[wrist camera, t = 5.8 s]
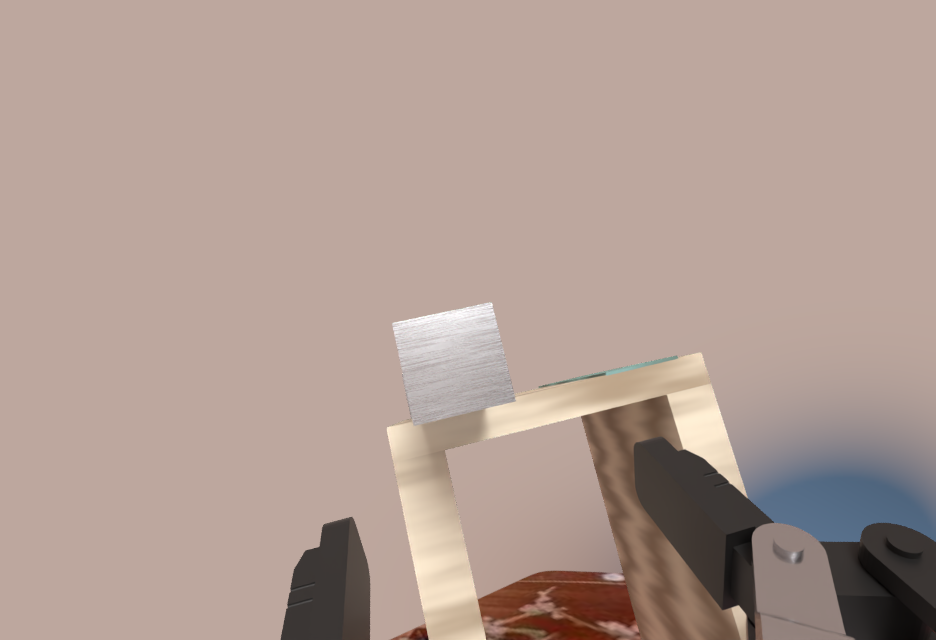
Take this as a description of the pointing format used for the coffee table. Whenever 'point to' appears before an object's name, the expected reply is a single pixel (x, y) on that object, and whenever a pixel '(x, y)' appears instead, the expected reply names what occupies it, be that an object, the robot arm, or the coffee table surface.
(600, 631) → the coffee table surface
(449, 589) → the bridge
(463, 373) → the block
